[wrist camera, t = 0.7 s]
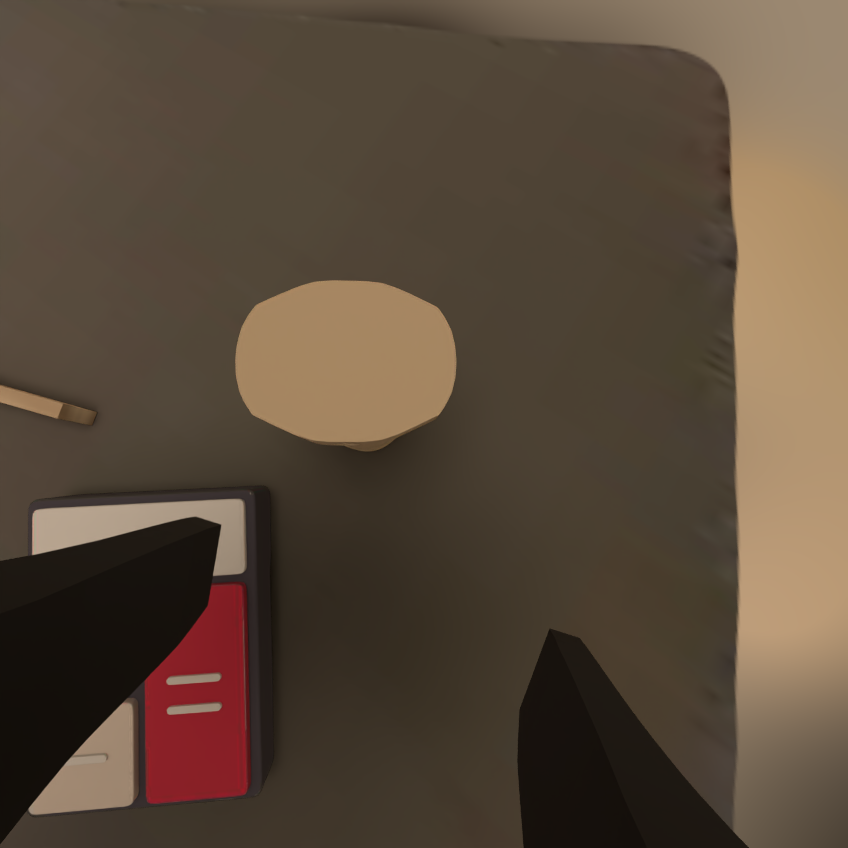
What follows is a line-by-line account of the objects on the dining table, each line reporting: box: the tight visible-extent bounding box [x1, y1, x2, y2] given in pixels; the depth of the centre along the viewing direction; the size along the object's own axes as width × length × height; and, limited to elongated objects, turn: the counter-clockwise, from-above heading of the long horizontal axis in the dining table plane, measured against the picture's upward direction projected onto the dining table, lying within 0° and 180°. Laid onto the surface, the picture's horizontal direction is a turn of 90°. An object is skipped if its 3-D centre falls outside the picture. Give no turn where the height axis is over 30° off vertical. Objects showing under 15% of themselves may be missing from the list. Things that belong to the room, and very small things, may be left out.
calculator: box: [27, 486, 274, 817], centre depth 26 cm, size 11×4×15 cm
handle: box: [235, 281, 456, 451], centre depth 22 cm, size 5×6×15 cm
